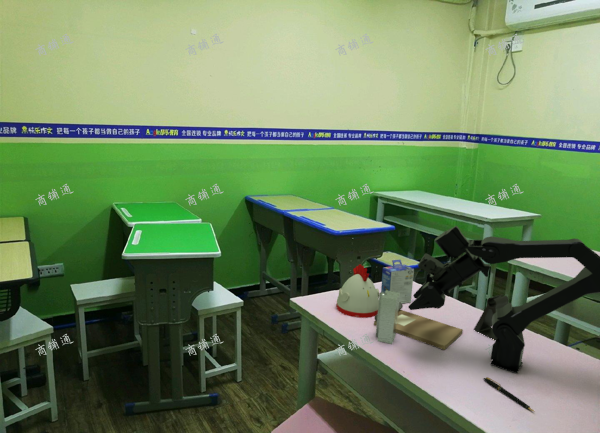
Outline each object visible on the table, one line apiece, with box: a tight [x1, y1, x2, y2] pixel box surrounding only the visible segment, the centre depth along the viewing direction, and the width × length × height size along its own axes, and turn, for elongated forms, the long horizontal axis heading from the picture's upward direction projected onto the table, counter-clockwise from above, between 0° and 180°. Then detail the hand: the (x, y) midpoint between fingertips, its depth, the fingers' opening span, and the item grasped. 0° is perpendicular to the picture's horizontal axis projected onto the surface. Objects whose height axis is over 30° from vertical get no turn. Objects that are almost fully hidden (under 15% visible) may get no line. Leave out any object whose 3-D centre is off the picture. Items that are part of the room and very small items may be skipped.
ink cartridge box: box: [380, 259, 415, 304], centre depth 155 cm, size 10×6×14 cm, turn 116°
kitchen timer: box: [335, 264, 380, 319], centre depth 147 cm, size 14×14×15 cm
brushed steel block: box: [375, 290, 400, 345], centre depth 128 cm, size 5×6×13 cm
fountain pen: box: [483, 377, 536, 412], centre depth 104 cm, size 14×1×2 cm, turn 25°
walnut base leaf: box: [373, 302, 464, 351], centre depth 136 cm, size 22×14×4 cm, turn 51°
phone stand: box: [473, 294, 510, 341], centre depth 134 cm, size 9×6×12 cm, turn 32°
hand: (411, 302), depth 125 cm, fingers open, 9 cm apart
